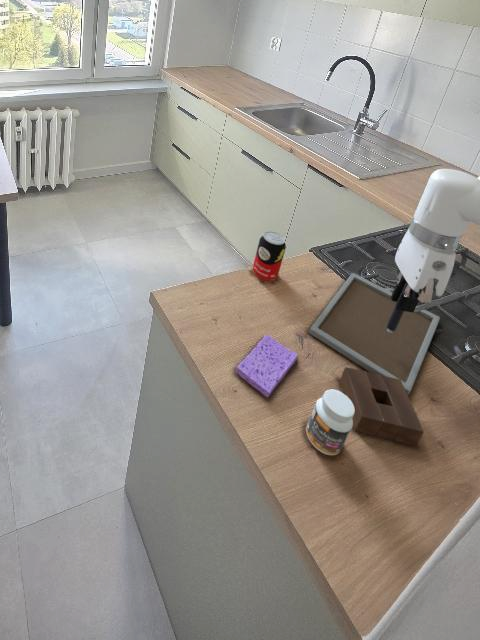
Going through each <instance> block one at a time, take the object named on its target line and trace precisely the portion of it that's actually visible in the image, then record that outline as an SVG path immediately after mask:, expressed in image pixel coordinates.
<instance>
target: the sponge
mask: <svg viewBox="0 0 480 640" xmlns="http://www.w3.org/2000/svg"><path fill="white" fill-rule="evenodd" d="M298 356H299V354H298V353H296V352H295V351H292V350H291V349H290V348H288V347H286V346H284V345H282V344H281V343H280V342H278V341H277V340H276V339H274V338H273V337H272V336H270V335H269V334H267V333H266V334H265V335H264V336H263V338H261V340H260V341H259V342H258V343H257V345H256V346H255V347H254V348H253V349H252V350H251V351H250V353H248V355H247V356H246V357H245V358H243V360H242V361H240V363H239V364H238V365H237V366H236V369H235V372H236V373H237V375H239V377H241V378H242V379H243V380H244V381H245V382H247V383H248V384H249V385H251V386H252V387H253V388H254V389H256V390H257V391H258V392H259V393H261V394H262V395H263V396H265V398H269V397H270V395H271V394H272V393H273V392H274V390H275V388H277V386H278V385H279V383H280V382H282V380H283V379H284V378H285V376H286V374H287V373H288V372H289V371H290V369H291V368H292V367H293V365H295V363H296V362H297V358H298Z"/></svg>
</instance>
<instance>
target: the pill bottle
mask: <svg viewBox="0 0 480 640" xmlns="http://www.w3.org/2000/svg"><path fill="white" fill-rule="evenodd" d="M354 413H355V408H354V405H353V403H352V401H351V400H350V399H349V398H348V397H347V396H346V395H345V394H344V392H343V391H340V390H337V389H326V391H324V392H323V394H322V396H321V397H319V398H318V399H317V400H316V402H315V405H314V407H313V410H312V412H311V415H310V417H309V419H308V422H307V424H306V428H305V431H306V436H307V438H308V440H309V442H310V443H311V445H312V446H313V447H314V448H315V449H316V450H318V451H319V452H320V453H322V454H324V455H327V456H336V455H338V454H339V453H340V452H341V451H342V449H343V447H344V445H345V443H346V441H347V439H348V437H349V435H350V433H351V431H352V430H353V427H354V425H353V419H352V418H353V415H354Z"/></svg>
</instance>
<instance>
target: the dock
mask: <svg viewBox="0 0 480 640" xmlns="http://www.w3.org/2000/svg"><path fill="white" fill-rule="evenodd" d="M339 383H340V386H341V389H342V393H343V394H345V395H346V396H347V397H348V398H349V399H350V400H351V401H352V403H353V405H354V408H355V413H354V415H353V418H352V419H353V427H354V431H357V432H361V433H364V434H368V435H372V436H377V437H379V438H384V439H388V440H392V441H396V442H399V443H404V444H407V445H410V446H417V445H418V443H419V441H420V440H421V438H422V436H423V435H424V433H425V431H424V429H423V426H422V424H421V421H420V419H419V418H418V415H417V413H416V411H415V409H414V406H413V404H412V402H411V399H410V398H409V395H407V393H406V391H405V389H404V386H403V384H402V382H401V380H400V379H396V378H391V377H387V376H383V375H378V374H374V373H370V372H369V371H365V370H360V369H356V368H351V367H347V366H345V367H344V369H343V371H342V374H341V376H340V379H339Z"/></svg>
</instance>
